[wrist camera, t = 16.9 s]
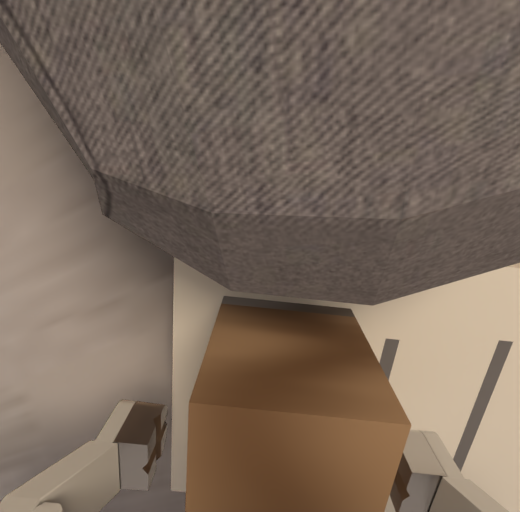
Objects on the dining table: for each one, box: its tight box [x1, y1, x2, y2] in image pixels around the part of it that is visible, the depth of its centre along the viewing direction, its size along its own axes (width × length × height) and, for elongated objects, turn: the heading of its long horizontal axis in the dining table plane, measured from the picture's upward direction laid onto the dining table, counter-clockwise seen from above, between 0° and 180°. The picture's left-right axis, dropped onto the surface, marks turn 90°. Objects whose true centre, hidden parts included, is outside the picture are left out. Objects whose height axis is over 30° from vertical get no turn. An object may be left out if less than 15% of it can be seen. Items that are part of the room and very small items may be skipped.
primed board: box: [171, 257, 520, 512], centre depth 13 cm, size 16×12×2 cm
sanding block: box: [185, 296, 411, 512], centre depth 10 cm, size 4×8×5 cm, turn 174°
